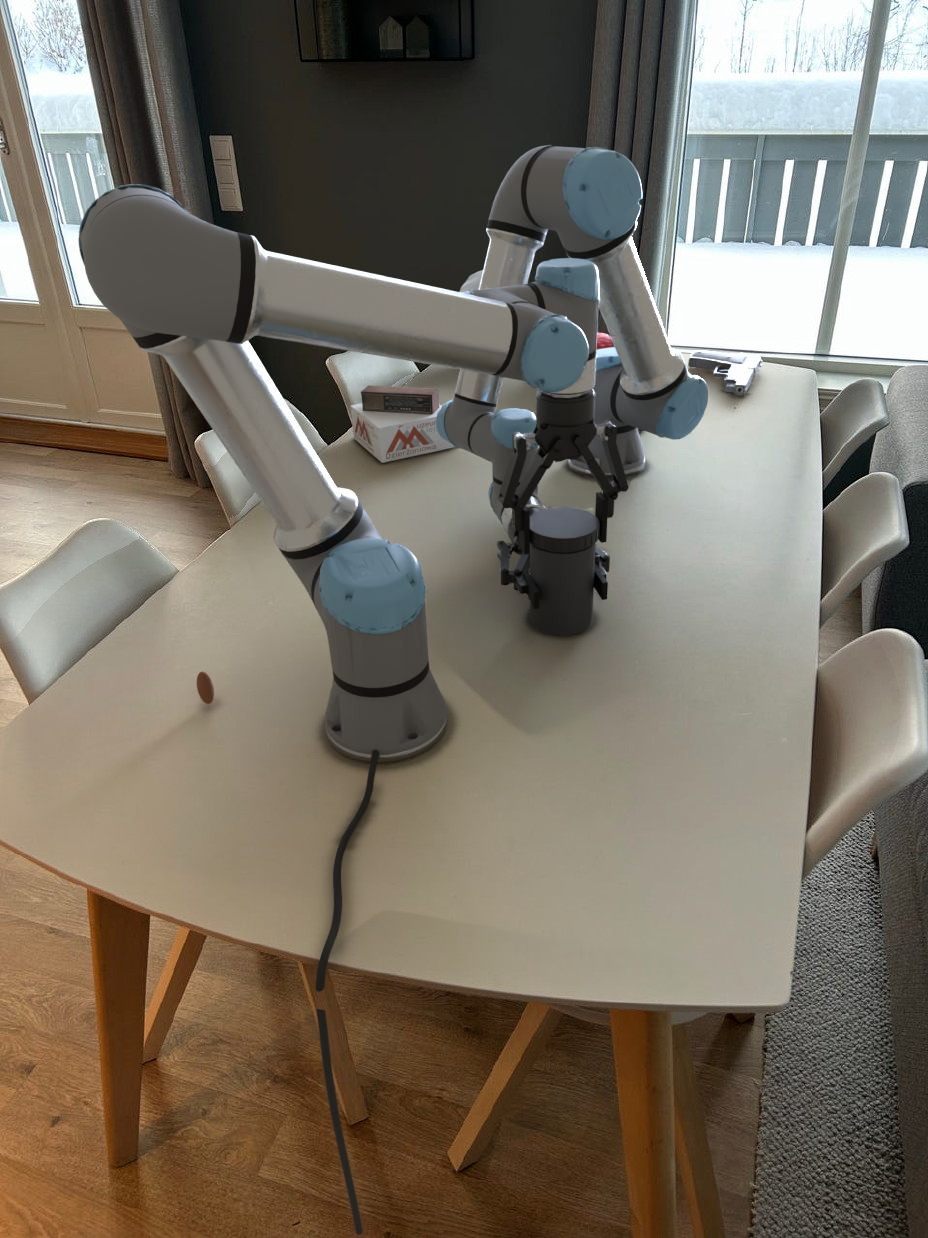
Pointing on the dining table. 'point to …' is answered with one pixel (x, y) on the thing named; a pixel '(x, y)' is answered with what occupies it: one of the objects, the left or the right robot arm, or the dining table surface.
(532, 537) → the lid
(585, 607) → the jar
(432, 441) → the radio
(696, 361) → the pistol
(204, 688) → the egg
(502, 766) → the dining table surface
